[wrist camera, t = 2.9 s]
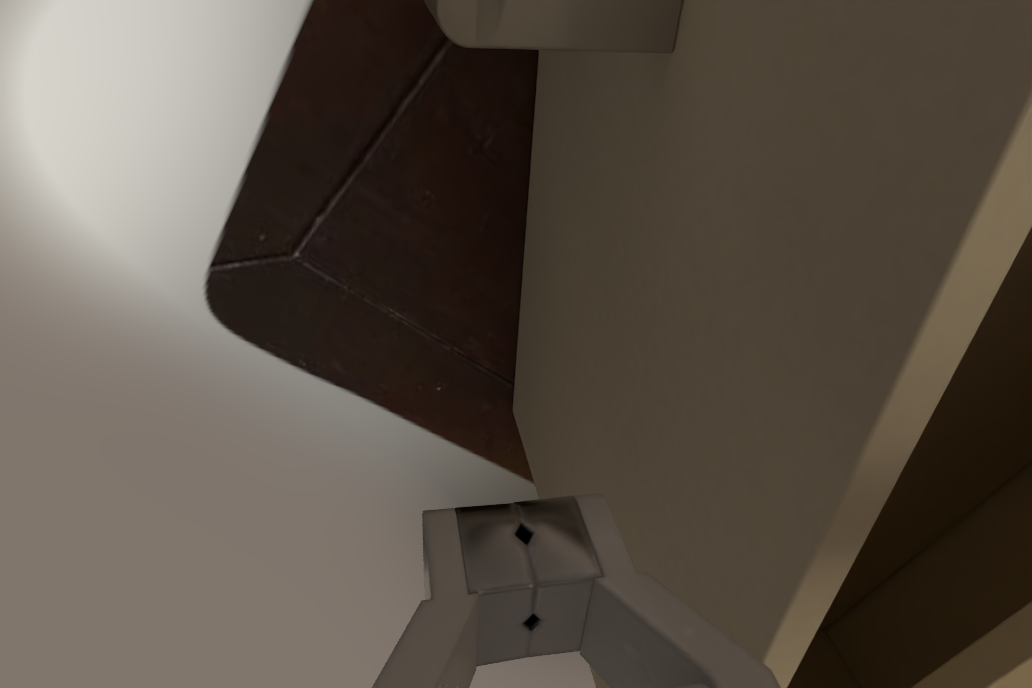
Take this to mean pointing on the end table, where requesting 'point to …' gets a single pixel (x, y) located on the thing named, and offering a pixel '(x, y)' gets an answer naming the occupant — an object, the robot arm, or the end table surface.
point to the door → (756, 269)
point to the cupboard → (950, 534)
